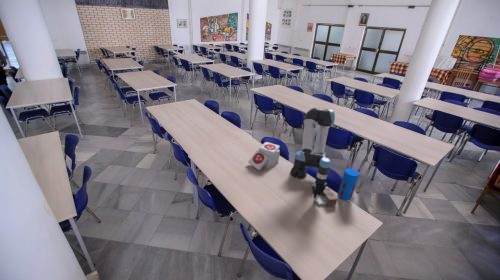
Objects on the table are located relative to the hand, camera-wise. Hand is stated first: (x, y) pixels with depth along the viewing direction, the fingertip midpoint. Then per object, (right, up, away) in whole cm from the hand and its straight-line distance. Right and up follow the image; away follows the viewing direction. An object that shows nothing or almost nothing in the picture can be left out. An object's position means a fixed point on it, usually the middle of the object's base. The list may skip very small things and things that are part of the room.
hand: (315, 200), depth 190 cm
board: (+6, -1, +2) cm, 6 cm away
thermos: (+27, +1, +9) cm, 28 cm away
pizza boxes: (-39, +25, +45) cm, 64 cm away
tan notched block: (+11, -1, +3) cm, 11 cm away
